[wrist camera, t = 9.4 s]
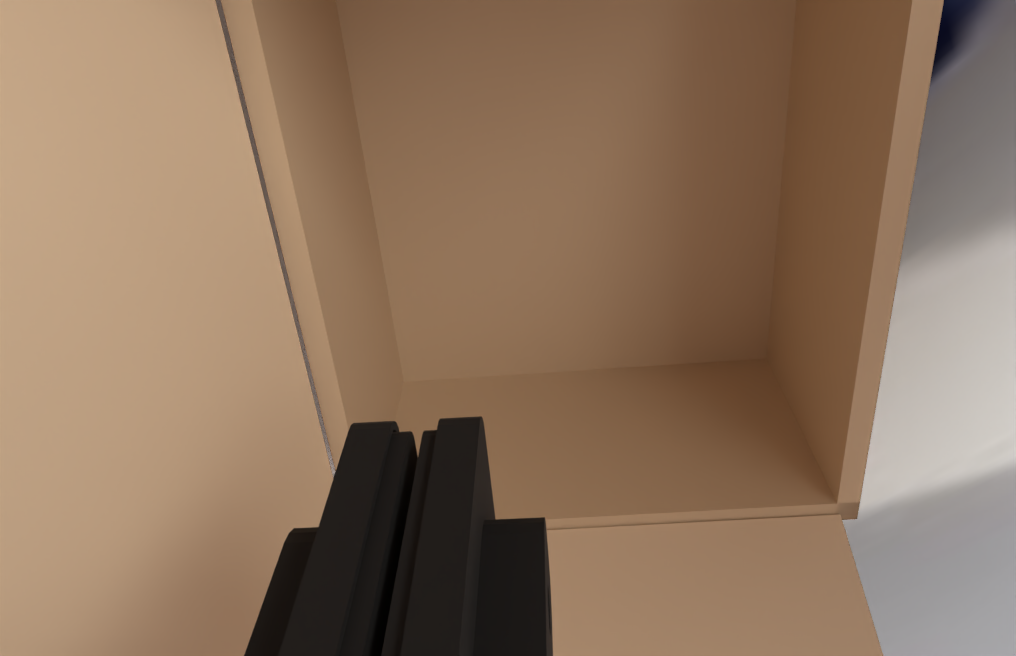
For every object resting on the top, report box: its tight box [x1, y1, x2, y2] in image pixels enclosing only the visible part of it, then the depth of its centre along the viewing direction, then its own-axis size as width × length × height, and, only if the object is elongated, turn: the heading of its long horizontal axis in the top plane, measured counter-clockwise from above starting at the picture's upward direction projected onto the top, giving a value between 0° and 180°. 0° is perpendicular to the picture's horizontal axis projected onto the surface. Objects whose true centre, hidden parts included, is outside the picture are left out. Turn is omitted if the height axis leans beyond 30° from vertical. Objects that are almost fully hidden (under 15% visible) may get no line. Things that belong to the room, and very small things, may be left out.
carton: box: [221, 0, 944, 656], centre depth 19 cm, size 14×22×14 cm, turn 5°
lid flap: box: [0, 0, 333, 656], centre depth 14 cm, size 12×17×1 cm
